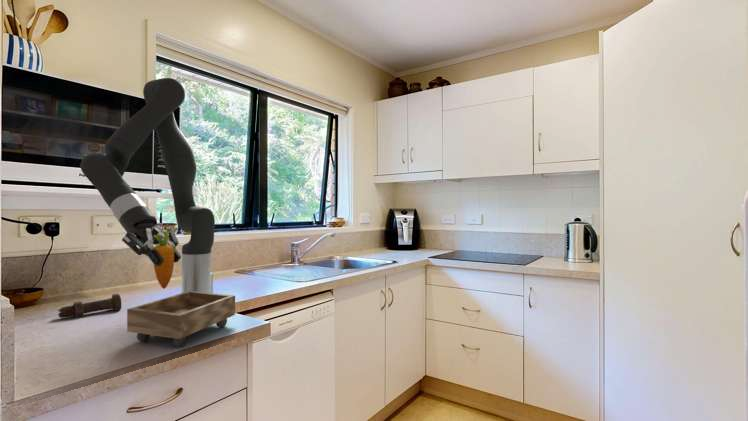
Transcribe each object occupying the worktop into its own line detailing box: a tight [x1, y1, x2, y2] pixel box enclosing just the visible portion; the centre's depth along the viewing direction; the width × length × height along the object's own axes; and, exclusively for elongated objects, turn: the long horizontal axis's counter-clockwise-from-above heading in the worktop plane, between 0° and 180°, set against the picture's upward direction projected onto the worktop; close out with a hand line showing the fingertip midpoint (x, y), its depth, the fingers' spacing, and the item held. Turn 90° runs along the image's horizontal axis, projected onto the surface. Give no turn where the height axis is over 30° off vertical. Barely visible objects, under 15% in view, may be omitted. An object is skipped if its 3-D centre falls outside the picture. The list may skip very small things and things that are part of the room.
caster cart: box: [126, 291, 236, 348], centre depth 98 cm, size 20×16×8 cm
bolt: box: [57, 293, 122, 319], centre depth 114 cm, size 6×5×15 cm
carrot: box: [153, 231, 175, 289], centre depth 96 cm, size 5×5×15 cm
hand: (169, 261), depth 95 cm, fingers closed on carrot, 5 cm apart
